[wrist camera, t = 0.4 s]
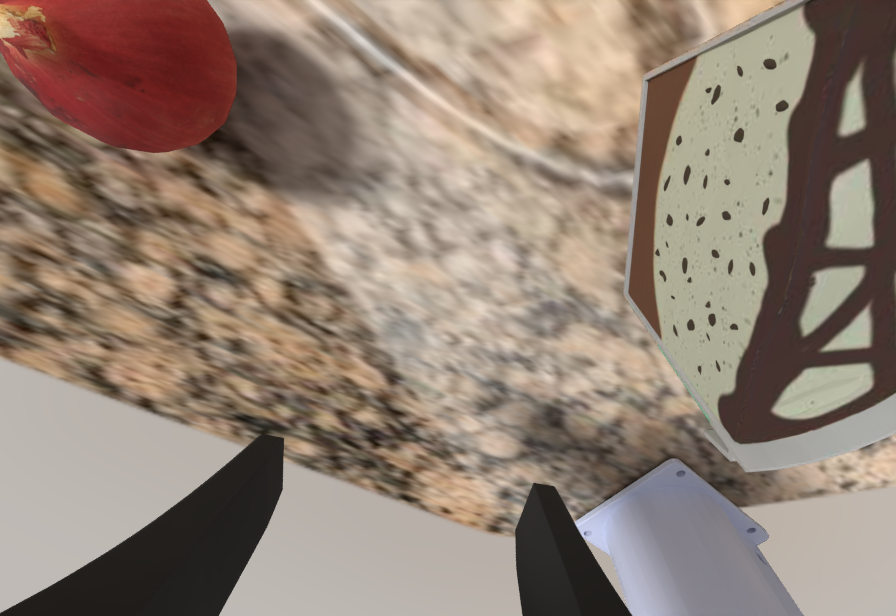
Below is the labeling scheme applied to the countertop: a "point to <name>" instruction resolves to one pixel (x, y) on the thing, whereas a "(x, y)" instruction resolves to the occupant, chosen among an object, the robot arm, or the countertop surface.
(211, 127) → the red pomegranate
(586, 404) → the countertop surface
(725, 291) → the food container
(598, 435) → the countertop surface
